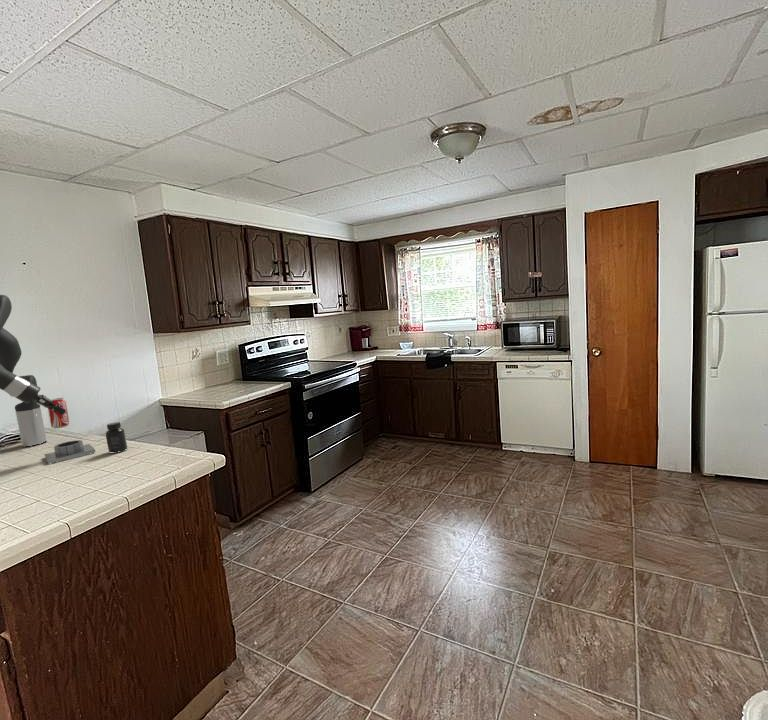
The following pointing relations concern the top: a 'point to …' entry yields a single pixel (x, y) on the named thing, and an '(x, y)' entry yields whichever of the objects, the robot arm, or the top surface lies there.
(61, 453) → the duct collar
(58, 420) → the beverage can
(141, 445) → the top surface
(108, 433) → the supplement bottle
